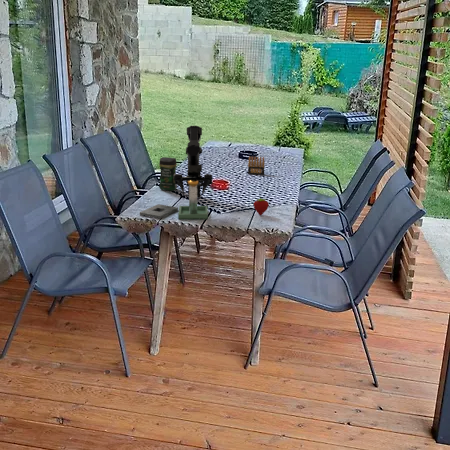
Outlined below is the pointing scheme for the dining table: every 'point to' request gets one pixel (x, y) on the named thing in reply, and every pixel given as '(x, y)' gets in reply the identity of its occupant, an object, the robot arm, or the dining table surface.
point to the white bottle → (193, 196)
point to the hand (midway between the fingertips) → (193, 194)
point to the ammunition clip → (256, 166)
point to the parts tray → (201, 214)
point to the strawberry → (261, 206)
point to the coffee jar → (167, 173)
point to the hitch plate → (153, 210)
